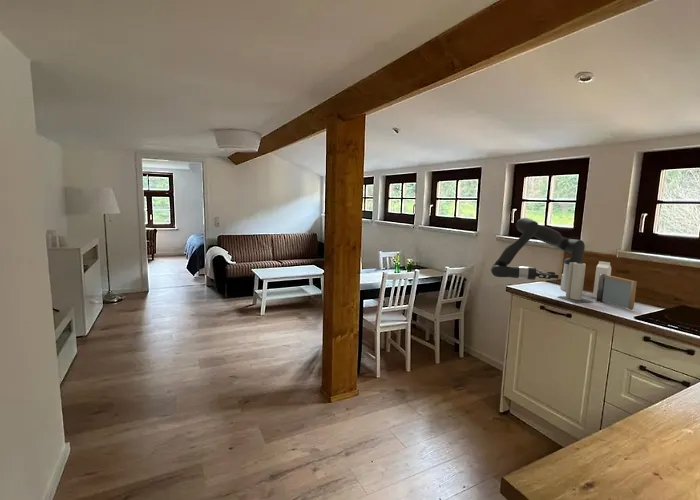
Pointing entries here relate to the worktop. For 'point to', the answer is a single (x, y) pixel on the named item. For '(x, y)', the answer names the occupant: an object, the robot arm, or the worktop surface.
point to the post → (600, 288)
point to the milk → (601, 269)
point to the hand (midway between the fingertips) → (556, 275)
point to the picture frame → (619, 291)
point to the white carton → (575, 280)
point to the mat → (575, 300)
